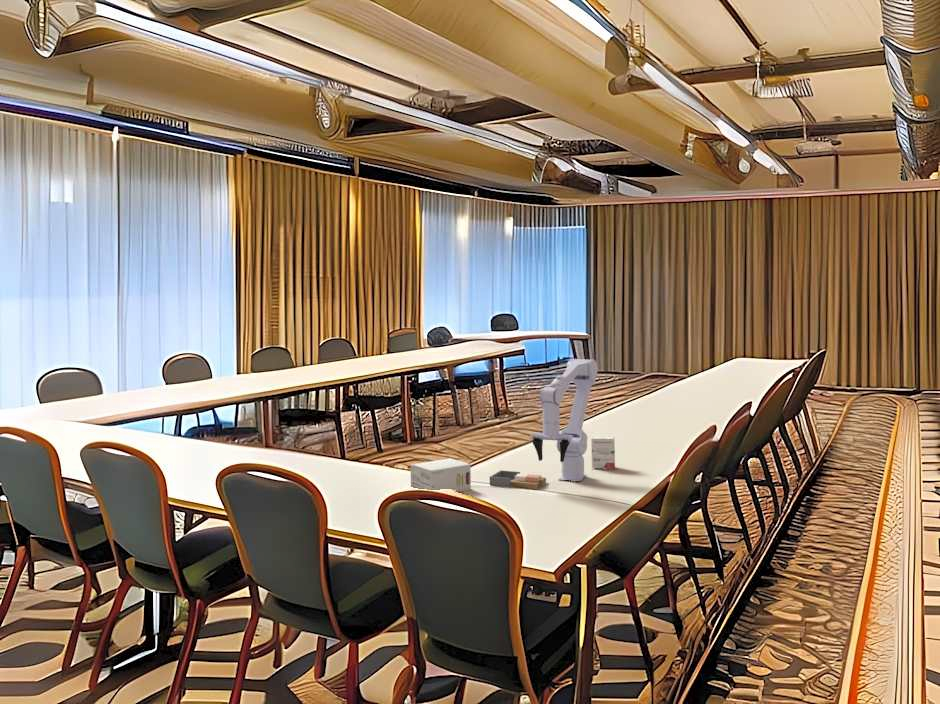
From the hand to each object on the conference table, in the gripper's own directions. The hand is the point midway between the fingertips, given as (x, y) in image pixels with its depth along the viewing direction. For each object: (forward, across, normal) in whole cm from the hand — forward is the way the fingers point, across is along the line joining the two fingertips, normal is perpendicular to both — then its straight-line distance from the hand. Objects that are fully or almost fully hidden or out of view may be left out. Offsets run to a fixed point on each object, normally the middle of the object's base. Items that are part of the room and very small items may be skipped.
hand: (551, 460), depth 295 cm
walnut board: (+10, -9, +2) cm, 14 cm away
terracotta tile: (+8, -7, +2) cm, 10 cm away
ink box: (+10, +11, +36) cm, 39 cm away
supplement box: (+10, -36, -12) cm, 40 cm away
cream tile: (+8, -11, +2) cm, 14 cm away
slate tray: (+10, -18, +3) cm, 21 cm away
